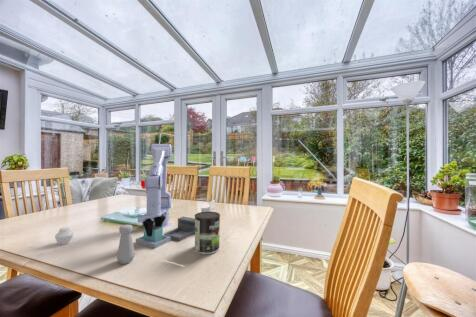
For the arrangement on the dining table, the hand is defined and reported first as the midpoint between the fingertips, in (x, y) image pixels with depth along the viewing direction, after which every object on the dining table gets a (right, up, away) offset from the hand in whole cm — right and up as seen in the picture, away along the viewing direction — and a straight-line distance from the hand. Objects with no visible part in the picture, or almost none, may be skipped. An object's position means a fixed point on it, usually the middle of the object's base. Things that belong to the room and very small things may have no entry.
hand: (153, 234), depth 91 cm
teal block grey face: (0, -3, 0) cm, 3 cm away
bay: (+10, -4, +10) cm, 14 cm away
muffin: (-38, -3, -2) cm, 38 cm away
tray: (0, -4, 0) cm, 4 cm away
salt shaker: (-3, -4, -16) cm, 17 cm away
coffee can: (+24, -4, -5) cm, 25 cm away
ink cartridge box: (+21, -4, +19) cm, 28 cm away
